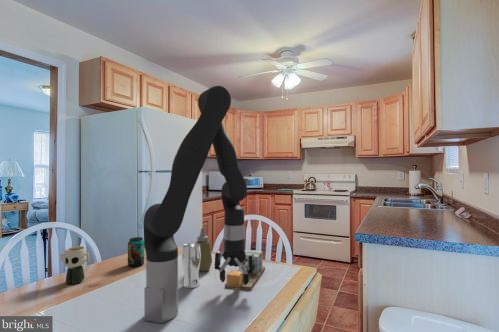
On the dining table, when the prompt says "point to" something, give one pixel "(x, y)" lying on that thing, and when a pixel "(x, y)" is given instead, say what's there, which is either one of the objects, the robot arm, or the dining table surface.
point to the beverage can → (136, 252)
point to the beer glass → (191, 264)
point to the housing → (256, 273)
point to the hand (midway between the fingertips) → (234, 282)
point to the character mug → (75, 263)
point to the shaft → (235, 277)
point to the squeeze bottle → (204, 251)
